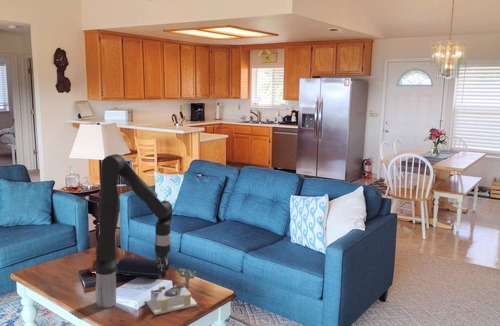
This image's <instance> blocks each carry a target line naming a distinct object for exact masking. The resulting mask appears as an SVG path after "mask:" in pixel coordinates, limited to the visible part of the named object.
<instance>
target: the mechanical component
mask: <svg viewBox="0 0 500 326" xmlns="http://www.w3.org/2000/svg"><path fill="white" fill-rule="evenodd" d="M177 272H178V274H179V277H180V278H183V279H184V281H185V282H188V285H185V288H186V289H188V288H189V287H190V286H189V284H190V283H189V282H190V280H193V279H194V278H195V277H196V276H197V275H198V271H196V270H193V272H192V271H191V269H188V268H179V269H178V270H177Z"/></svg>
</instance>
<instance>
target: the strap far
mask: <svg viewBox="0 0 500 326" xmlns="http://www.w3.org/2000/svg"><path fill="white" fill-rule="evenodd" d="M181 284H182V285H176V286H177V289H178V288H181V287H182V286H184V287H186V285H188V282H186V281H184V282H181Z"/></svg>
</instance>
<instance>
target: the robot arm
mask: <svg viewBox="0 0 500 326" xmlns="http://www.w3.org/2000/svg"><path fill="white" fill-rule="evenodd" d="M100 172H101V173H100V175H101V176H100V177H101V178H100V179H101V185H100V186H101V188H100V199H99V208H98V227H99V233H98V234H99V235H98V241H97V244H96V246H95V256H96V257H95V260H96V274H95V275H96V277H95V279H96V282H95V283H96V284H95V287H94V288H95V305H96V307H97V308H98V309H101V308H102V309H106V308H107V309H108V308H112V307H114V306H115V305H116V304H117V247H116V234H117V233H116V232H117V227H118V224H119V223H118V222H119V217H120V207H121V201H120V200H121V199H120V196H119V192H118V177H119V176H120V177H121V178H122V179H124V180H125V181H126V182H127V183H128V185H129V186H130V188H131V189H132V191H133V193H134V194H135V195H136V196H137V197H138V198H139V199H140V200H141V201H142V202H144V204H146V206H147V208H148V209H149V210H150V212H151V213H152V214H153V215H154V217H156V218H157V221H156V223H155V234H154V252H155V257H156V258H155V260H157V265H158V268H159V276H160V278H161V279H165V278H166V277H167V276H166V275H167V271H168V270H169V267H170V263H171V262H170V260H169V258H168V257H169V256H168V254H170V253H171V248H172V247H171V245H172V244H171V243H172V241H171V240H172V237H171V222H172V217H173V205H172V203H171V202H170V201H169V200H162V201H161V200H160V199H159V198H158V192H156V191H155V190H154V189H153V188H152V187H151V186H150V185H148V183H147V182H145V181H144V179H142V178H141V177H140V175H138V174H137V172H135V170H134V169H133V167H132V166H131V165H130V163H128V162H127V160H126V159H125V158H124V156H122V155H120V154H117V153H115V154H110V155H108V156H105V157H104V158H103V160H102V161H101V165H100Z"/></svg>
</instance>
